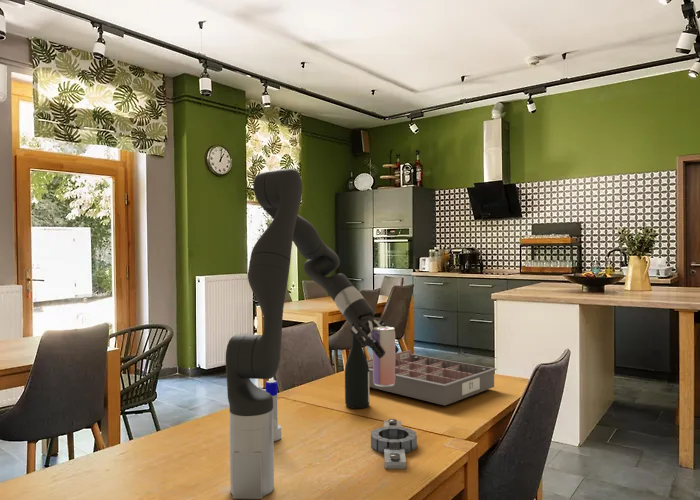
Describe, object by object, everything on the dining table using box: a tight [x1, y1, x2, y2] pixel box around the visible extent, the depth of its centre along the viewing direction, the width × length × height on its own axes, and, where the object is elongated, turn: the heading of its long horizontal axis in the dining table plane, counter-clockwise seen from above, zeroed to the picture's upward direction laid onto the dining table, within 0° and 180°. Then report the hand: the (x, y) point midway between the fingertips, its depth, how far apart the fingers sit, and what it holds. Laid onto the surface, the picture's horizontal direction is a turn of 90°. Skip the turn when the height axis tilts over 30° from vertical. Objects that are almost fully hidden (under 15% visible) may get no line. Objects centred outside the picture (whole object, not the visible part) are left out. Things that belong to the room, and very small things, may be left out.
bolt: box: [265, 379, 282, 442], centre depth 142 cm, size 16×5×5 cm
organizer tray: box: [366, 349, 497, 406], centre depth 191 cm, size 32×40×10 cm
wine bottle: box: [344, 326, 371, 409], centre depth 171 cm, size 8×8×30 cm
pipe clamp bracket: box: [370, 418, 418, 470], centre depth 137 cm, size 29×12×3 cm, turn 177°
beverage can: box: [372, 326, 396, 387], centre depth 139 cm, size 6×6×15 cm
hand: (389, 354), depth 138 cm, fingers closed on beverage can, 6 cm apart
